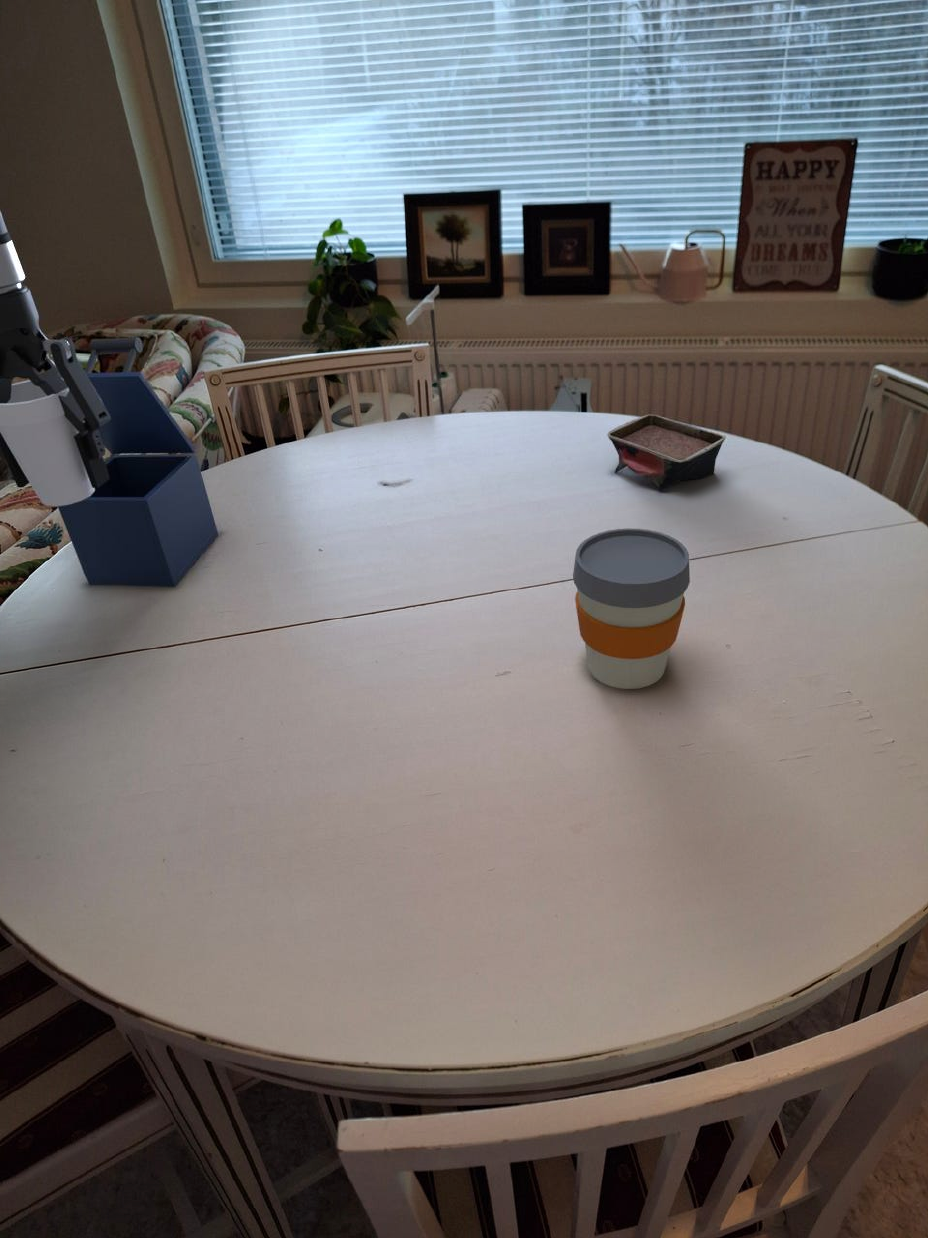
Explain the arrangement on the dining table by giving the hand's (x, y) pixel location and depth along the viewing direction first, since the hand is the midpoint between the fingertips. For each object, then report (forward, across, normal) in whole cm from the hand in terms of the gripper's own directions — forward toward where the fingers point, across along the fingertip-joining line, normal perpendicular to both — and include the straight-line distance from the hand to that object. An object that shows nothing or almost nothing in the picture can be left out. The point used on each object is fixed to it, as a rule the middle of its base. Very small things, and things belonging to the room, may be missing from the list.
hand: (63, 482), depth 98 cm
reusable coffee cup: (+22, +68, -4) cm, 72 cm away
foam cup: (+2, 0, 0) cm, 2 cm away
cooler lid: (0, -4, +22) cm, 22 cm away
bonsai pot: (+22, +74, +50) cm, 92 cm away
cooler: (+21, -4, +18) cm, 29 cm away
